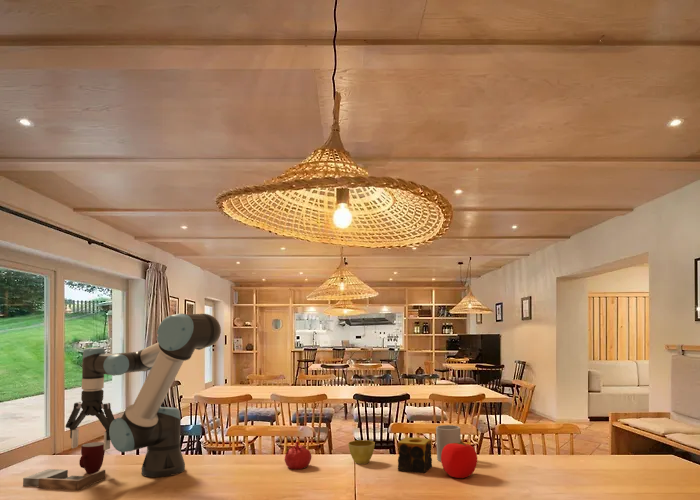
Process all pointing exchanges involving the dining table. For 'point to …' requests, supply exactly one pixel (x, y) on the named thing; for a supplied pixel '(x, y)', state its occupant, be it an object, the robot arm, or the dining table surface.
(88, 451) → the mug
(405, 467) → the candle
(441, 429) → the cup
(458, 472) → the tomato
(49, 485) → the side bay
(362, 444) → the flower pot
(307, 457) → the pomegranate
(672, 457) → the dining table surface
